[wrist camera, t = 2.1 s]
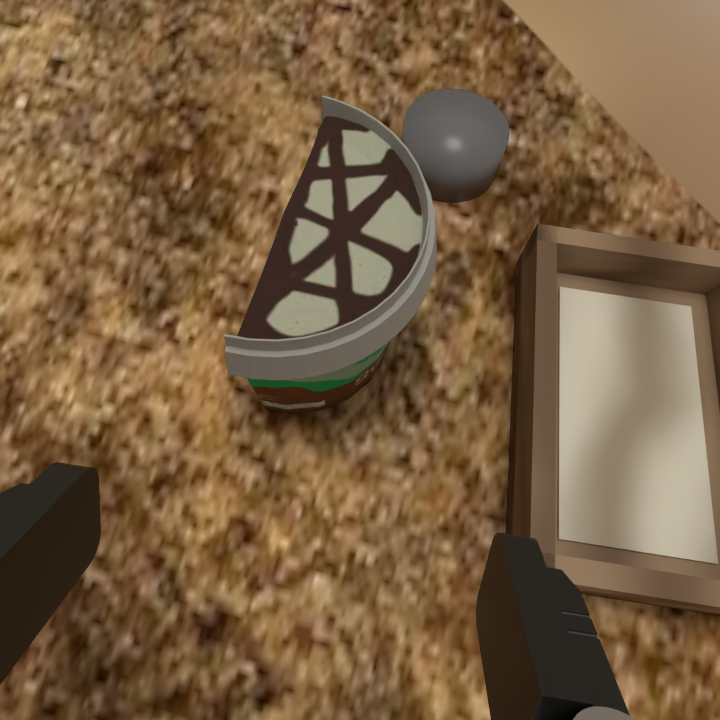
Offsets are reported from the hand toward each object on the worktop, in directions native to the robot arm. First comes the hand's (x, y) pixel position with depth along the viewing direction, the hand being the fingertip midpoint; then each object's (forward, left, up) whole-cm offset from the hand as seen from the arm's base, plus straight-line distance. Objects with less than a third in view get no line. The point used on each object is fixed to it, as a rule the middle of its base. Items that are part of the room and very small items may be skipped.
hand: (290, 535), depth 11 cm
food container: (0, +12, -15) cm, 19 cm away
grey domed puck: (+4, +25, -15) cm, 29 cm away
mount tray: (+14, +10, -15) cm, 22 cm away
